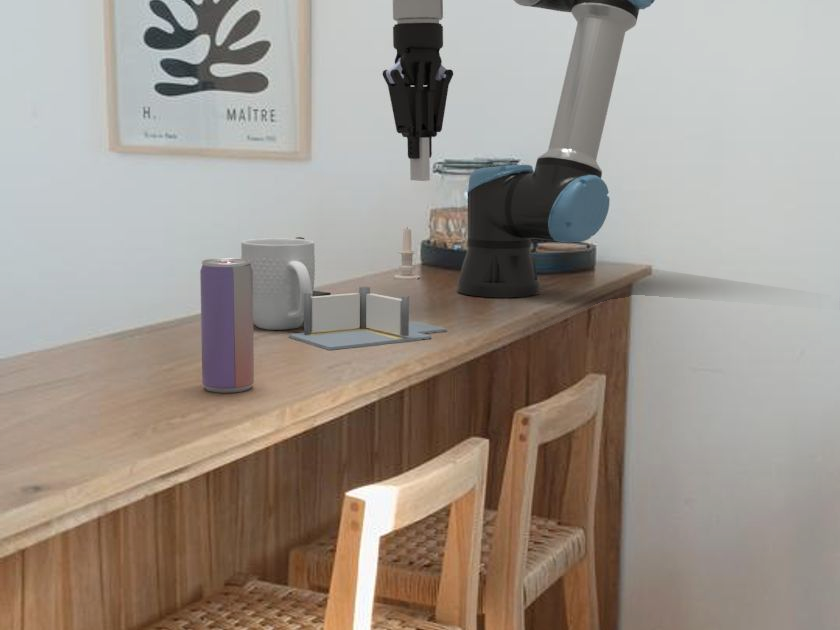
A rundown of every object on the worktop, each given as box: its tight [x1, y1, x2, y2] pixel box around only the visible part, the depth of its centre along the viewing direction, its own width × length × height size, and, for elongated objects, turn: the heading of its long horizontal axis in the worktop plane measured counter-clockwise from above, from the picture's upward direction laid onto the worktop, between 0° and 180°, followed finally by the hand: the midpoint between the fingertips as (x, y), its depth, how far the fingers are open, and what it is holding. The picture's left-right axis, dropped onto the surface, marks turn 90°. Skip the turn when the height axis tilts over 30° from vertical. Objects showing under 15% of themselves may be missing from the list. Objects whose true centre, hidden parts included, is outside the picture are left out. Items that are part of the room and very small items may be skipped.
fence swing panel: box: [366, 293, 410, 336], centre depth 176 cm, size 9×1×6 cm, turn 40°
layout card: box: [288, 321, 448, 351], centre depth 177 cm, size 22×12×1 cm, turn 124°
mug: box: [240, 237, 316, 331], centre depth 181 cm, size 15×11×13 cm
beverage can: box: [199, 257, 255, 394], centre depth 140 cm, size 6×6×15 cm
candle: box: [393, 226, 421, 281], centre depth 241 cm, size 5×5×10 cm
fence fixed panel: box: [303, 286, 371, 335], centre depth 177 cm, size 11×2×7 cm, turn 124°
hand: (420, 180), depth 186 cm, fingers closed
